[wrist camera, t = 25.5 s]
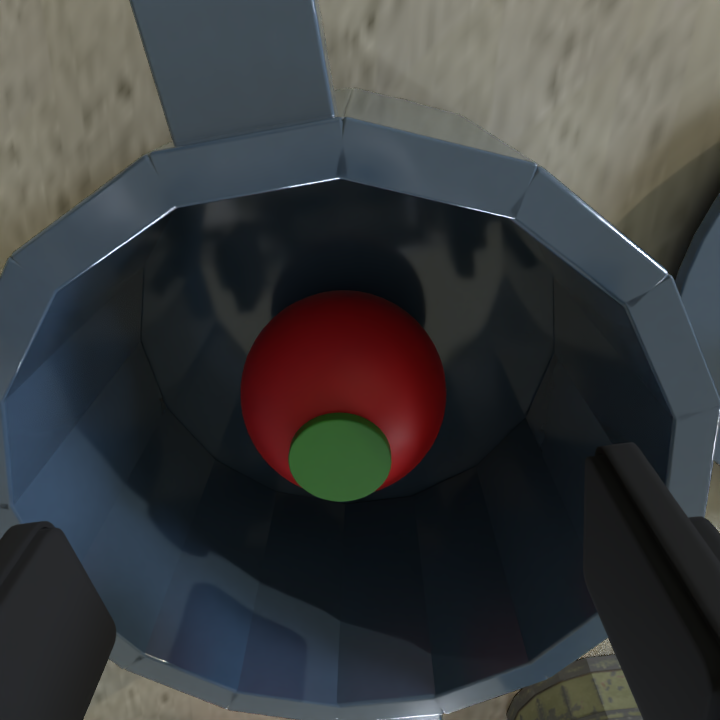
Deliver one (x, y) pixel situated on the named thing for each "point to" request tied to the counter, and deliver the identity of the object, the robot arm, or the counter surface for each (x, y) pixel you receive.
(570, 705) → the thermos
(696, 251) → the lid
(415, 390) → the red tomato
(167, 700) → the counter surface
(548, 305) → the pot
